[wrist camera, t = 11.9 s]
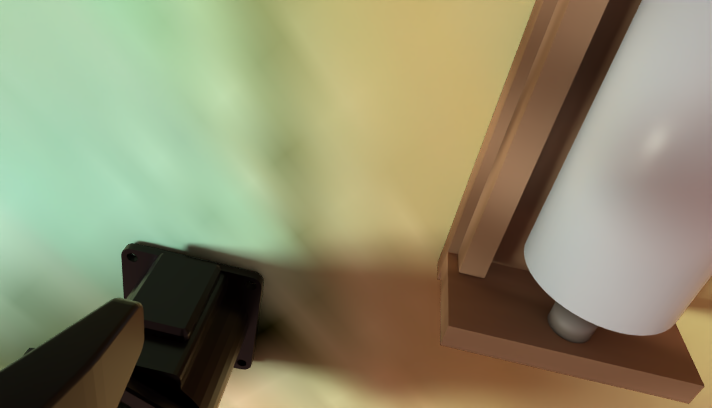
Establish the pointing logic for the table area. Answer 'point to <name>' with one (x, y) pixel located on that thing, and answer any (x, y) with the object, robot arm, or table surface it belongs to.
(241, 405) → the table surface
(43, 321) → the table surface
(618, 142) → the cylinder
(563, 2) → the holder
